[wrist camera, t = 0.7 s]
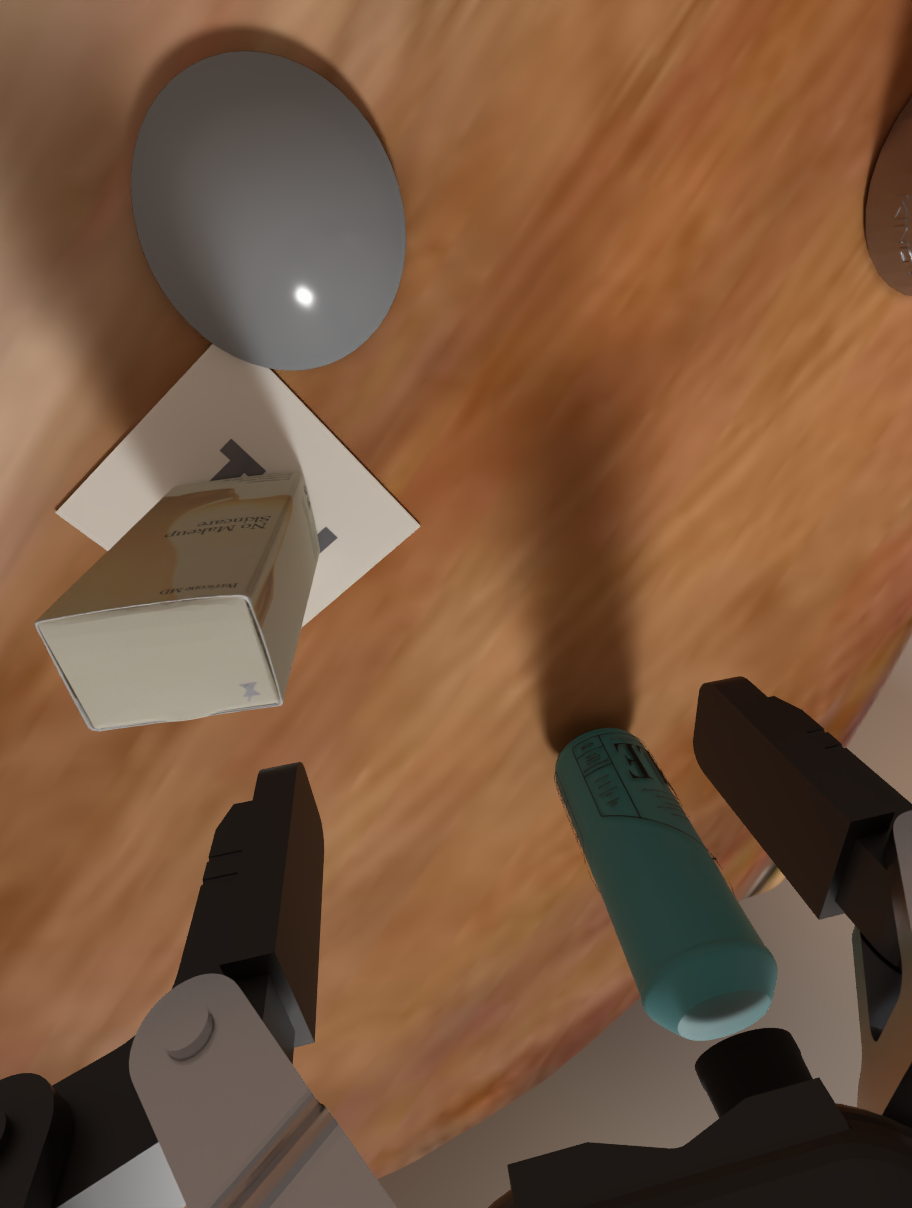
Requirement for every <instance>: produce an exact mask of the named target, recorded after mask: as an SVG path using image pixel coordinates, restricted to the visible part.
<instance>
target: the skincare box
mask: <svg viewBox="0 0 912 1208" xmlns="http://www.w3.org/2000/svg"><path fill="white" fill-rule="evenodd" d="M319 554H320V546H319V541H318V536H317V531H316V526H315V521H314V516H313V511H312V507H311V503H310V498H309V495H308V491H307V487H306V484H305V480H304V476H303V474H302V473H300V472H292V473H278V474H266V475H256V476H246V477H238V478H229V479H222V480H215V481H208V482H201V483H195V484H188V485H181V486H176V487H173V488H172V489H171V490H170V491H169V492H168V493H167V494H166V495H165V496H164V497H163V498H162V499H161V500H160V501H159V502H158V503H157V504H156V505H155V506H154V507H153V508H152V509H151V510H150V511H149V512H148V513H147V514H145V515H144V517H142V518H141V519H140V520H139V521H138V522H137V523H136V524H135V525H134V526H133V527H132V528H131V529H130V530H129V531H128V532H127V533H126V534H125V535H124V536H123V537H122V538H121V539H120V540H119V541H118V542H117V543H116V544H115V545H114V546H113V547H112V548H111V549H110V550H109V551H108V552H107V553H105V554H104V555H103V556H102V557H101V558H100V559H99V560H98V561H97V562H96V563H95V564H94V565H93V566H92V567H91V568H90V569H89V570H88V571H87V572H86V573H85V574H84V575H83V576H82V577H81V578H80V579H79V580H78V581H77V582H76V583H75V584H74V585H73V586H72V587H70V588H69V589H68V590H67V591H66V592H65V593H64V594H63V595H62V596H61V597H60V598H59V599H58V600H57V601H56V602H55V603H54V604H53V605H52V606H51V607H50V608H49V609H48V610H47V611H46V612H45V613H44V614H43V615H42V616H41V617H40V618H39V619H38V620H37V621H35V627H36V629H37V631H38V633H39V635H40V637H41V639H42V640H43V642H44V644H45V646H46V649H47V651H48V653H49V655H50V657H51V658H52V660H53V662H54V664H55V666H56V668H57V670H58V673H59V674H60V676H61V678H62V680H63V682H64V683H65V685H66V687H67V689H68V691H69V693H70V695H71V697H72V699H73V701H74V703H75V705H76V706H77V708H78V710H79V712H80V714H81V715H82V717H83V719H84V721H85V723H86V725H87V726H88V728H89V729H91V730H94V731H105V730H111V729H117V728H126V727H132V726H140V725H148V724H154V723H162V722H172V721H184V720H192V719H197V718H202V717H207V716H211V715H217V714H224V713H232V712H238V711H245V710H252V709H260V708H266V707H276V706H280V705H282V704H283V701H284V697H285V692H286V688H287V683H288V679H289V675H290V672H291V668H292V663H293V659H294V655H295V651H296V647H297V643H298V638H299V635H300V631H301V627H302V623H303V619H304V615H305V610H306V606H307V602H308V598H309V594H310V590H311V586H312V582H313V577H314V574H315V570H316V566H317V562H318V557H319Z"/></svg>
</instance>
